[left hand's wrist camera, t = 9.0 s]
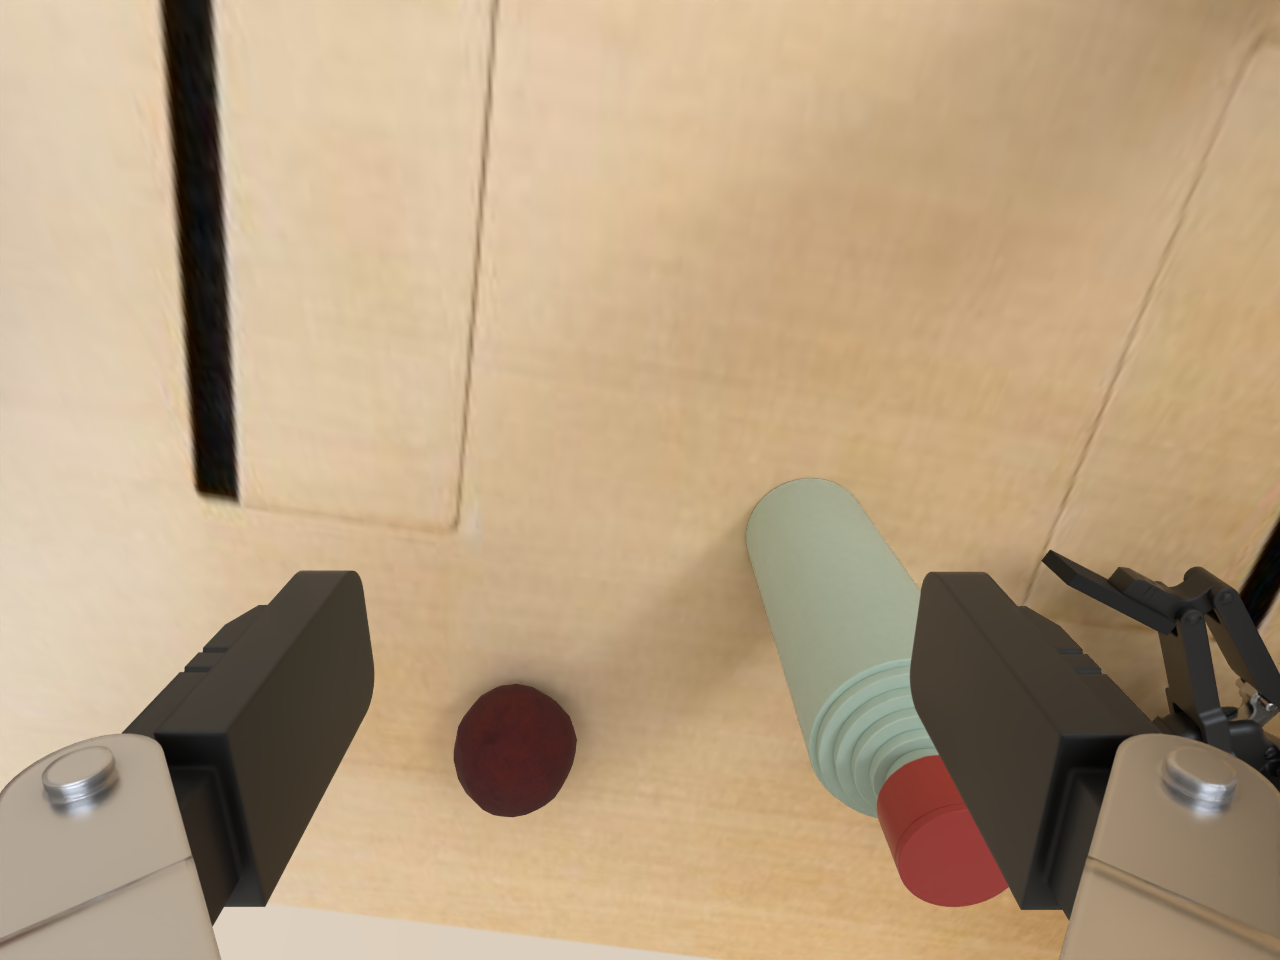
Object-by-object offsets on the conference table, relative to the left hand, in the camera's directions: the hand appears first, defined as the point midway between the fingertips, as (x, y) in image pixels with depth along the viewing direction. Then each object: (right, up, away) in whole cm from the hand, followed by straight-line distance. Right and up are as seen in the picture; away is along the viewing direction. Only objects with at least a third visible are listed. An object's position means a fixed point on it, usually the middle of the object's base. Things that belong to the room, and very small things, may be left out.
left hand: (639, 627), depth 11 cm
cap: (+10, -10, +13) cm, 19 cm away
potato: (-8, -13, +40) cm, 43 cm away
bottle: (+10, -1, +36) cm, 37 cm away
